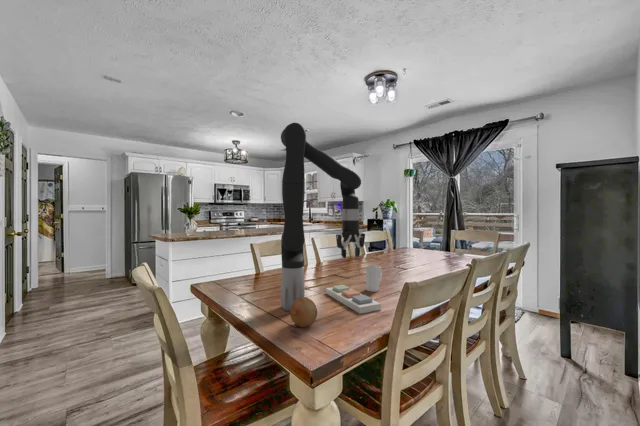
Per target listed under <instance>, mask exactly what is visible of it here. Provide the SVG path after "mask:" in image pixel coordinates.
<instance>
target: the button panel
mask: <svg viewBox="0 0 640 426" xmlns="http://www.w3.org/2000/svg"><path fill="white" fill-rule="evenodd" d="M352 289H353V288H350V290H352ZM325 294H327V295H328V296H330V297H331V298H334V299H335V300H336V301H338V302H340V303H341V304H343V305H345V306H346V307H348V308H349V309H352V310H353V311H355V312H356V313H358V314H359V315H360V314H366V313H369V312H370V313H371V312H376V311H381V310H382V304H381V303H380V302H378V301H376V300H374V299H372V303H367V304H361V305H359V304H358V303H356V302H354V301H352V298H347V297H345V296H343V295H342V292H340V293H338V292H336V291H334V290H333V286H332V287H326V288H325ZM360 295H363V294H362V293H360Z"/></svg>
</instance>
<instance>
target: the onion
mask: <svg viewBox="0 0 640 426" xmlns="http://www.w3.org/2000/svg"><path fill="white" fill-rule="evenodd" d="M289 315H290V318H291V321H292V322H293V323H294V325H295V326H298V327H302V328H307V327H310V326H311V325H312V324H313V323H315V322H316V319H317V317H318V308H317V306H316V304H315V302H314V301H313V300H312V299H311V298H309V297H306V296H304V297H301V298H299V299H297V300H296V301H295V302H294V303H293V304H292V306H291V309H290V311H289Z"/></svg>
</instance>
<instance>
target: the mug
mask: <svg viewBox="0 0 640 426" xmlns="http://www.w3.org/2000/svg"><path fill="white" fill-rule="evenodd" d="M382 280H383V269H382V266H380V265H376V264H366V265H365V289H366V290H365V291H367V292H371V293H373V292H376V293H377V292H379V290H380V283H382Z"/></svg>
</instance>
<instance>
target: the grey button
mask: <svg viewBox="0 0 640 426" xmlns="http://www.w3.org/2000/svg"><path fill="white" fill-rule="evenodd" d="M372 300H373V298H372V297H370V296H368V295H366V294H362V295H359V296H352V301H354V302H356V303H358V304H359V305H361V304H367V303H372Z"/></svg>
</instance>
